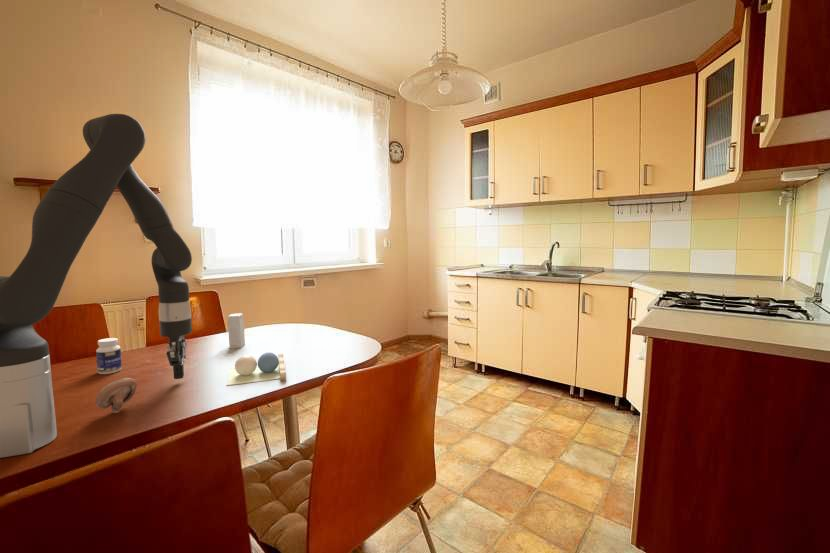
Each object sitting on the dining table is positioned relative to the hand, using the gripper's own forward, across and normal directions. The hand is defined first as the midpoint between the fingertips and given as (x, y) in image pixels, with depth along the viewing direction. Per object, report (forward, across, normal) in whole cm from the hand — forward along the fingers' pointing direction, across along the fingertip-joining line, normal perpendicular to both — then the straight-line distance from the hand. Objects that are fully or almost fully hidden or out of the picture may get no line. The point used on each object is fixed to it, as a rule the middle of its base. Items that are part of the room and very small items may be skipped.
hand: (179, 377), depth 103 cm
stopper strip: (+2, 0, -27) cm, 27 cm away
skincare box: (+2, +34, -12) cm, 36 cm away
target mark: (+2, 0, -20) cm, 20 cm away
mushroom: (+2, -15, +10) cm, 18 cm away
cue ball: (-2, 0, -17) cm, 17 cm away
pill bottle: (+2, +18, +22) cm, 28 cm away
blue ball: (-2, 0, -23) cm, 23 cm away
